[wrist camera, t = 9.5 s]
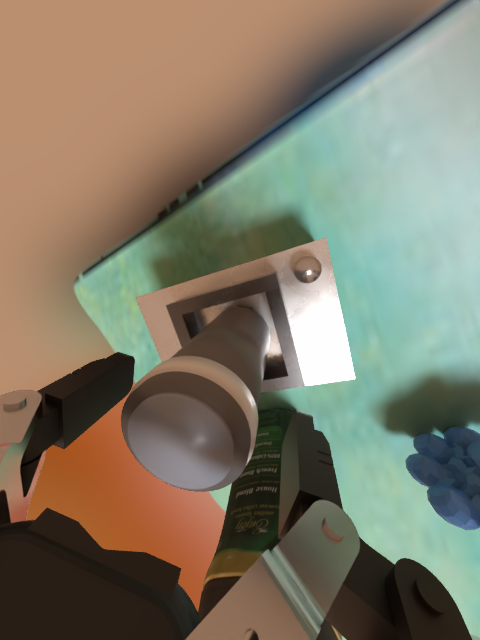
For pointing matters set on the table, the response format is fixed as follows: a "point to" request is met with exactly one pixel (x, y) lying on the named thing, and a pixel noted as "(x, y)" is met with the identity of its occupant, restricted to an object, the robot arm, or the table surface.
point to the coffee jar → (252, 516)
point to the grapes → (450, 474)
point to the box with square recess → (264, 314)
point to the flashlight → (201, 405)
